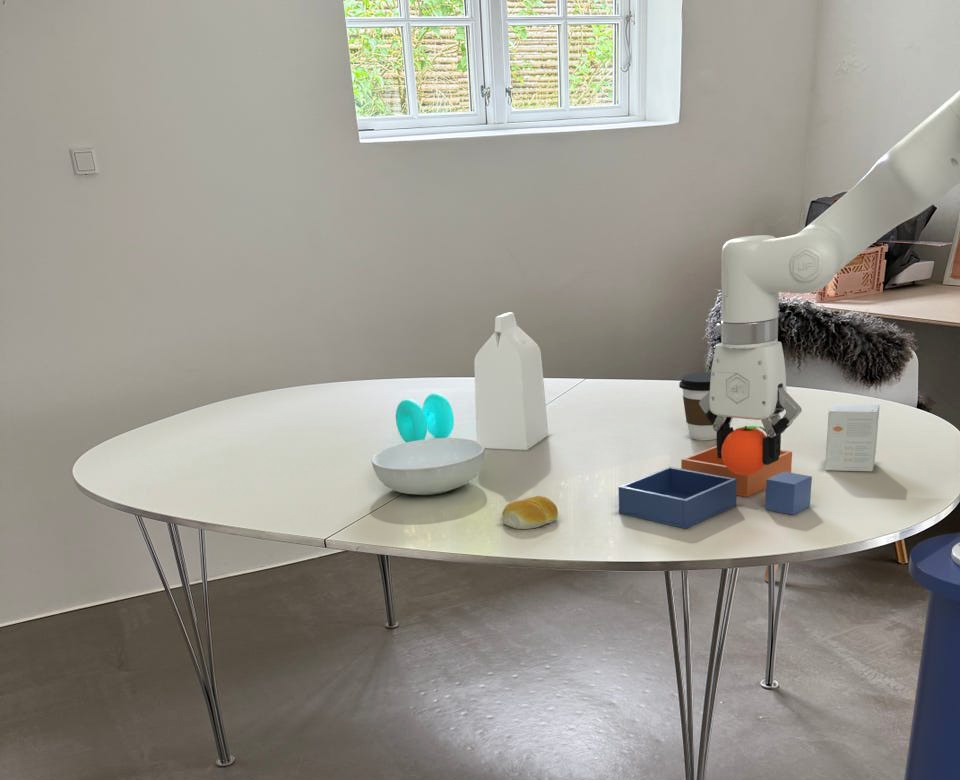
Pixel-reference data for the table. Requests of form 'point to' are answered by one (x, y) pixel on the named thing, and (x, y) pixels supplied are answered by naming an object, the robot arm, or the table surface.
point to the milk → (509, 389)
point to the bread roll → (530, 513)
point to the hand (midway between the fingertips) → (747, 458)
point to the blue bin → (677, 496)
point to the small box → (852, 437)
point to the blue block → (788, 493)
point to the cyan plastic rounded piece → (424, 418)
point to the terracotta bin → (745, 483)
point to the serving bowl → (429, 465)
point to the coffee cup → (697, 405)
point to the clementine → (744, 450)
